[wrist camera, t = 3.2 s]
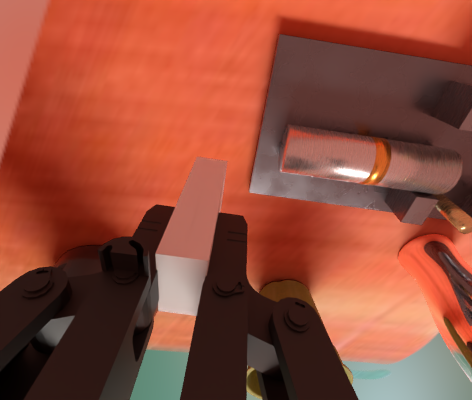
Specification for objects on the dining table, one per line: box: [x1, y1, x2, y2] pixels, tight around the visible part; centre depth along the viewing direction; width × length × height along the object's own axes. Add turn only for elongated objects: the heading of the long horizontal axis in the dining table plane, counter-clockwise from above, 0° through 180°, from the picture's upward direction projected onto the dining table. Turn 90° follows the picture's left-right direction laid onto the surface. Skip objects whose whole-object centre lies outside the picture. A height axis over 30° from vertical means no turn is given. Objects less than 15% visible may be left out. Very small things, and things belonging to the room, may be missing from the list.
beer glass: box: [398, 234, 472, 382], centre depth 26 cm, size 7×7×15 cm
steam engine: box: [249, 34, 472, 234], centre depth 22 cm, size 27×14×6 cm, turn 82°
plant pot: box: [247, 280, 353, 399], centre depth 33 cm, size 12×12×11 cm
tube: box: [278, 124, 463, 195], centre depth 22 cm, size 14×4×4 cm, turn 82°
